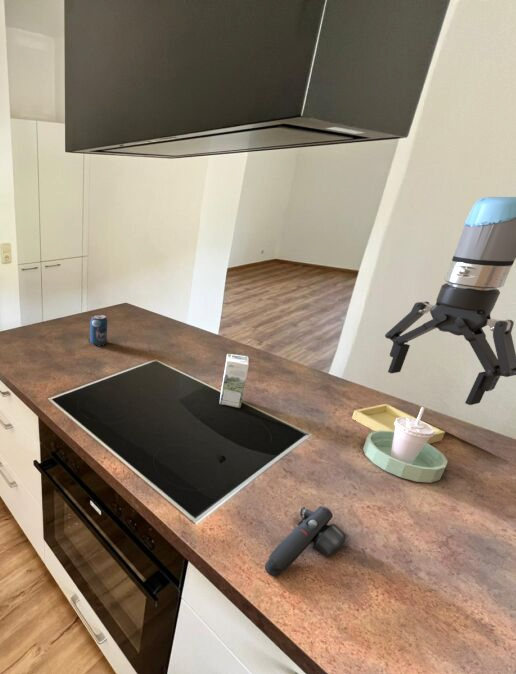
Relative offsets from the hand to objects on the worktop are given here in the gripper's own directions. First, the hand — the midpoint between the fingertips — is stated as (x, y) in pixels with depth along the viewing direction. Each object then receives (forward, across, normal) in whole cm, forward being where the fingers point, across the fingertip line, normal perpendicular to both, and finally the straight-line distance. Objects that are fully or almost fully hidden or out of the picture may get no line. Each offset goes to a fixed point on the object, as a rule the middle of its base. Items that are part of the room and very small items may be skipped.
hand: (429, 386), depth 74 cm
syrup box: (+20, -33, -18) cm, 43 cm away
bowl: (+20, 0, 0) cm, 20 cm away
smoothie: (+20, 0, 0) cm, 20 cm away
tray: (+20, -9, +13) cm, 25 cm away
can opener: (+20, +11, -40) cm, 46 cm away
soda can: (+20, -88, -39) cm, 99 cm away
